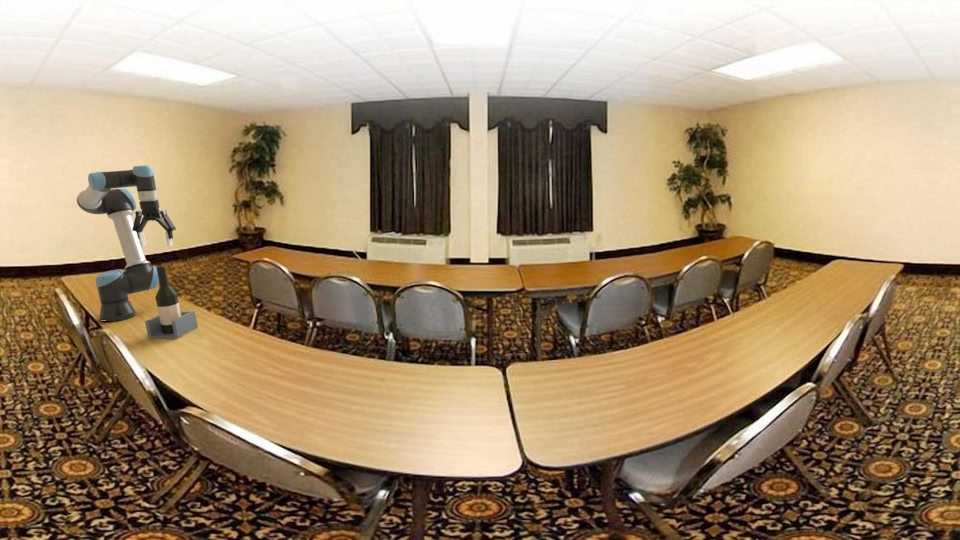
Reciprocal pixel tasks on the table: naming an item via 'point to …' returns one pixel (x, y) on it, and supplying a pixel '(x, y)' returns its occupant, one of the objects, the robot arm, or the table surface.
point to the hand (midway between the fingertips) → (157, 245)
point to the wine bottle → (166, 302)
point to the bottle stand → (179, 325)
